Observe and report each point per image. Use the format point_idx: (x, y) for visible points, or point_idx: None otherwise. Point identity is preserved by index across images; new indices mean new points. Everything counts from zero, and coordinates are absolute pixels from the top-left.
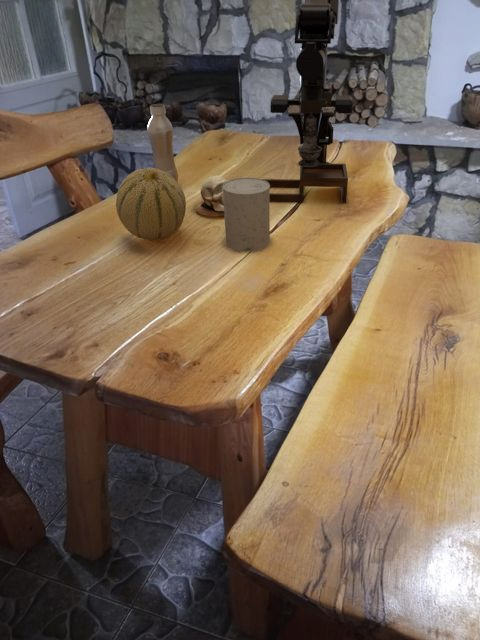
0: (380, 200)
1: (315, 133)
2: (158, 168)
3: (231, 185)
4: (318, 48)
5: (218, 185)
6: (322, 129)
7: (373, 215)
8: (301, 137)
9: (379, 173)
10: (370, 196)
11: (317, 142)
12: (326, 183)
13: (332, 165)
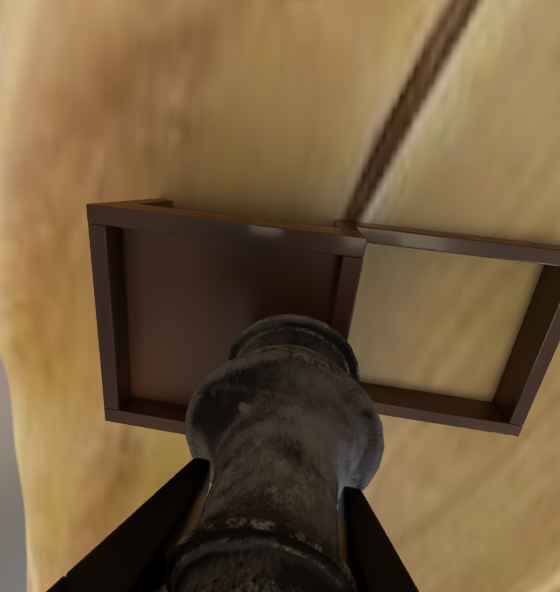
0: (27, 220)
1: (196, 536)
2: None
3: None
4: None
5: None
6: (74, 580)
7: (46, 43)
8: (370, 532)
9: (43, 461)
10: (65, 264)
11: (205, 460)
12: (215, 215)
13: (168, 415)
